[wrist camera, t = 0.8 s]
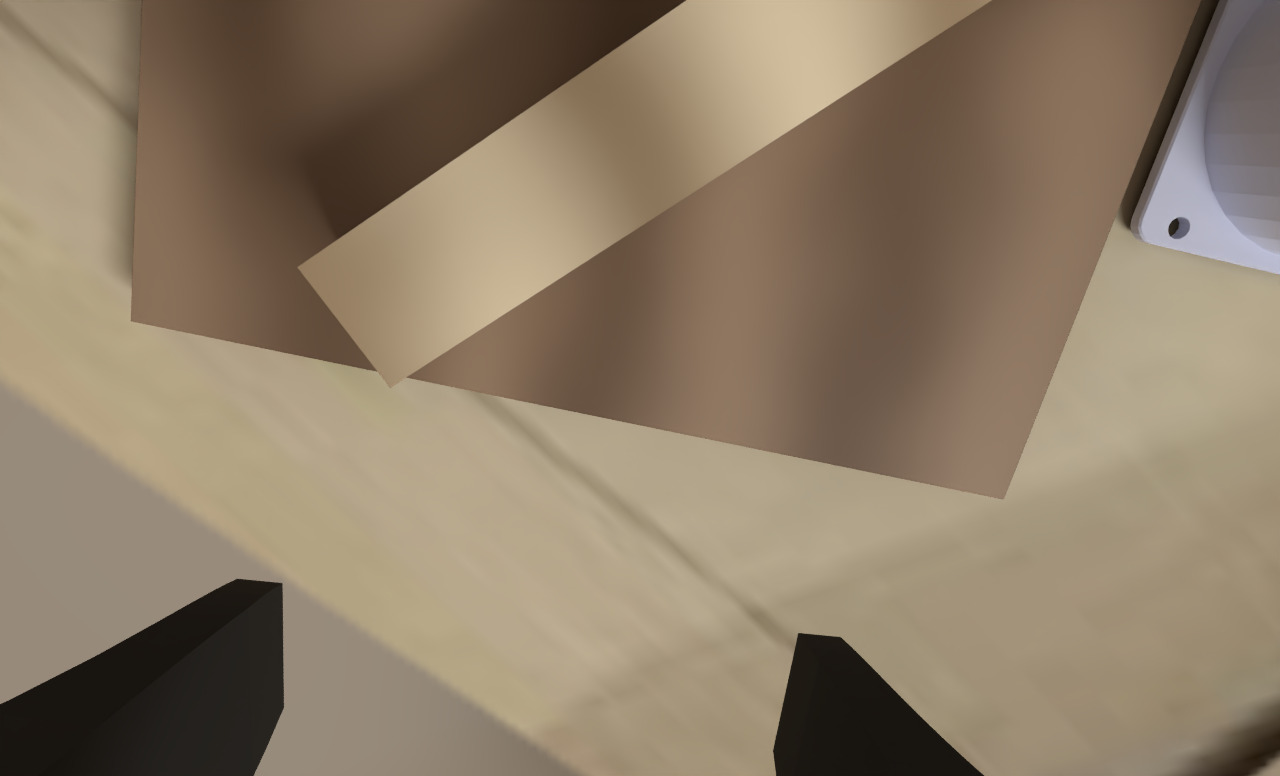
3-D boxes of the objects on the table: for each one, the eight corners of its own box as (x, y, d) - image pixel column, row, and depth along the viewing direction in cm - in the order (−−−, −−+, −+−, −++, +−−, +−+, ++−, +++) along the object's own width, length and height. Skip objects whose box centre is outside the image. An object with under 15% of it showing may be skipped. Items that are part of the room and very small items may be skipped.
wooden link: (1059, -277, 15) (1239, -447, 11) (1136, -78, 16) (1329, -157, 12) (320, 233, 18) (221, 265, 13) (428, 377, 19) (369, 450, 14)
